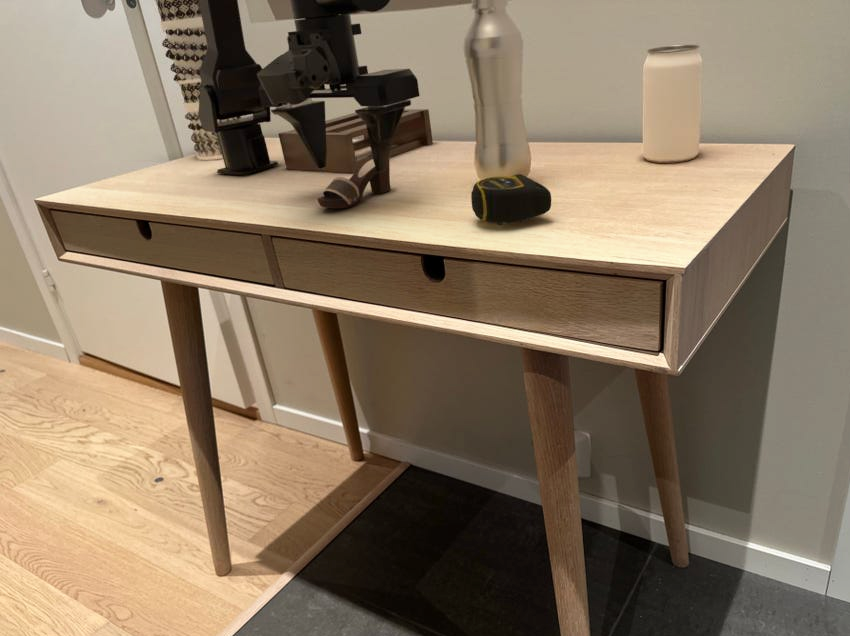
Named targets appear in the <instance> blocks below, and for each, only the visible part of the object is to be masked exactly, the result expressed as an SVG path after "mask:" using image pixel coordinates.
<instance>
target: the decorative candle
mask: <svg viewBox="0 0 850 636" xmlns="http://www.w3.org/2000/svg"><path fill="white" fill-rule="evenodd" d="M155 3H156V5H157V10H158V14H159V16H160V20H161V21H160V22H159V23H160V26H161V29H162V32H163V33H165V37H164V39H163V40H162V43H161V45H162V46H163V47H164V48H166V49H167V50H166V52H165V54H164V56H165V57H166V58H168V59H170V60H171V61H173V62H172V64H171V65H170V71H171V72H173V73H174V74H175V75H174V77H173V81H174V82H175V84H176V85H179V87H180V90H181V94H182V97H183V101H184V102H183V106H184V109H185V110H184V111H185V112H186V114H185V115H184V118H185V119H186V120H188V121H190V123H189V124H188V125H187V128H188V129H189V130H192V134H191V136H190V140H191V141H192V142H193V143H195V144H194V146H193V150H194V151H195V152H197V153H198V154H197V155H196V159H197V160H200V161H213V160H220V159H221V160H223V156H222V153H221V149H220V145H219V141H218V138H217V134H216V133H213V132H208V131H204V130H203V127H202V125H201V122H200V120H199V117H198V112H199V97H200V88H201V86H202V85H201V78H200V67H201V64H202V62H203V59H204V57H205V54H206V51H207V49H208V47H207V41H206V36H205V31H204V26H203V20H202V15H201V10H200V5H199V0H155ZM239 118H242V116H240V117H235V118H230V119H224V120H219V119H218V120H217V122H218V123H219V122H224V121H229V120H234V119H239Z"/></svg>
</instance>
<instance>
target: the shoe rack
mask: <svg viewBox="0 0 850 636" xmlns="http://www.w3.org/2000/svg"><path fill="white" fill-rule="evenodd" d="M325 121H326V146H327V159H326V167H324V168H321V169H318V168H317V166H316V165H315V163H314V161H313V159H312V158H311V156H310V154H309V152H308V151H307V149H306V147H305V145H304V144H303V142H302V140H301V138H300V137H299V135H298V133H297V132H296V130H295V129H291V130H287V131H282V132H278V138H279V143H280V148H281V151H282V156H283V161H284V165H285V169H286V170H293V171H295V170H296V171H310V172H325V173H326V172H327V173H342V174H343V173H345V174H354V173H355V172H356V171H357V170H358V169H359V168H360V167H362V166H363V165H364V164H366V163H367V162H368V161H370V160H372V159H373V157H372V153H371V154H368V155H366V156H363V157H360V158H357V157H356V152H355V151H356V150H360V149H362V148H364V147H368V146H370V142H369V137H368V132H367V127H366V124H365V122H364V121H363V120H362V119H361V118H360V117H359V116H358V114H357V113H356V112H355V111H354V112H353V113H348V114H345V115H342V116H338V117H334V118H331V119H327V120H325ZM358 137H363V138H361V139H358V140H355V141H353V139H355V138H358ZM432 144H434V140H433V134H432V126H431V119H430V111H429V109H427V108H420V109H419V108H417V109H416V108H415V109H414V108H413V109H412V108H405V109H404V111H403V114H402V117H401V119H400V122H399V125H398V127H397V130H396V133H395V137H394V140H393V144H392V145H394V146H392V148H391V151H390V155H389V158H391V157H395V156H397V155H401V154H402V153H405V152H408V151H412V150H413V149H416V148H419V147H421V146H430V145H432Z"/></svg>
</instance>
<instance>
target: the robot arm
mask: <svg viewBox="0 0 850 636" xmlns="http://www.w3.org/2000/svg"><path fill="white" fill-rule="evenodd" d="M289 1H290V6H291V12H292V15H293V21H294V25H295V30H294V31H287V34H288V35H287V37H286V41H287V45H288V50H287V51H285V52H284V53H282V54H280V55H279V56H277V57H276V58H274V59H273V60H272V61H270V62H269V63H268V64H267V65H266V66H264V67H263V66H262V65H261V64H259V63H257V62H256V60H254V58H253V57H252V56H251V54H250V53H249V51H248V50H247V49H246V44H245V43H246V42H245V37H244V32H243V25H242V19H241V13H240V7H239V6H240V5H239V0H199V5H200V10H201V15H202V20H203V26H204V31H205V36H206V41H207V47H208V49H207V51H206V54H205V57H204V59H203V62H202V64H201V67H200V78H201V85H202V86H201V88H200V97H199V112H198V117H199V120H200V122H201V125H202V127H203V130H204V131H208V132H213V133H216V134H217V138H218V141H219V145H220V149H221V153H222V156H223V158H222V160H223V164H224V167H222V168H219V169H217V170H216V171H217V174H225V175H236V176H237V175H238V176H247V175H251V174H253V173H256V172H259V171H263V170H266V169H269V168H272V167H275V166H278V165H279V161H278V160H271V159H270V154H269V151H268V147H267V142H266V137H265V135H264V133H263V130H262V126H261V124H262V123H271V121H272V119H271V117H272V116H271V114H273V115H274V116H275V115H276V116H279V117H281V118H282V119H283V120H285V121H286V122H288V123H289V124H290V125H291V126H292V128H293V130H296V132H297V133H298V135H299V137H300V138H301V140H302V142H303V144H304V145H305V147H306V149H307V151H308V152H309V154H310V156H311V158H312V159H313V161H314V163H315V165H316V166H317V168H318V169H321V168H324V167H326V159H327V146H326V121H327V120H326V101H325V100H312V99H333V98H334V99H340V98H346V99H347V98H353V99H354V100H355V101H356V102H357V104H358V105H359V106H360V107H361V108H357V109H354V113H355V112H356V113H357V114H358V116H359V117H360V118H361V119H362V120H363V121H364V122H365V124H366V127H367V132H368V137H369V142H370V145H369V147H370V152H371V154H372V157H373V161H374V164H375V168H376V171H377V172H382V171H385V169H386V166H387V162H388V159H389V160H390V157H389V155H390V151H391V148H392V147H393V145H394V144H393V140H394V137H395V133H396V130H397V127H398V125H399V122H400V119H401V117H402V114H403V111H404V109H406V107H410V106H412V100H411V99H414V98H418V97H420V89H419V82H418V78H417V76H416V75H415V74H414V72H413V71H412V70H411V69H410V68H391V69H382V70H378V71H373V72H369V70H368V65H359V59H358V53H357V48H356V47H357V46H356V41H355V36H358V35H362V27H361V23H352V19H351V15H355V14H366V13H375V12H379V11H381V10H383V9H384V8H385V7H387V5H389V3H390V1H391V0H289ZM326 85H327V86H328V87H329V88H326ZM271 108H273V109H271ZM249 115H250V116H249ZM235 117H241V118H239V119H234V120H229V121H224V122H219V123H218V122H217V120H218V119H219V120H224V119H230V118H235Z"/></svg>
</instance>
